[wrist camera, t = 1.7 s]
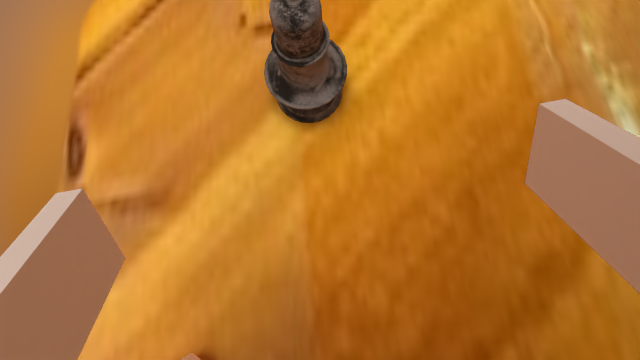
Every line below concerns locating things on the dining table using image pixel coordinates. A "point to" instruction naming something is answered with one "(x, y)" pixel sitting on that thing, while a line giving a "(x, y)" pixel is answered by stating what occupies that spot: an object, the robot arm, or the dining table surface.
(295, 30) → the salt shaker
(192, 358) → the cable organizer
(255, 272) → the dining table surface
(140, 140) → the dining table surface
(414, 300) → the dining table surface
